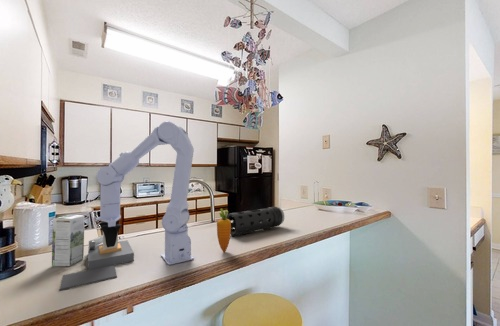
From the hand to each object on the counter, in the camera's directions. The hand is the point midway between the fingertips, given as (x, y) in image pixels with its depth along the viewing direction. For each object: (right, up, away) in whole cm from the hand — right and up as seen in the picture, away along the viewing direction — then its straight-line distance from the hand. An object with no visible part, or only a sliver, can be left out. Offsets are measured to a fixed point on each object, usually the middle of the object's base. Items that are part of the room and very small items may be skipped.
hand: (110, 244), depth 77 cm
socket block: (0, -4, 0) cm, 4 cm away
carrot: (+37, -4, +4) cm, 38 cm away
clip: (-6, -2, +6) cm, 9 cm away
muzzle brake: (+50, -5, +30) cm, 58 cm away
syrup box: (-10, -4, -5) cm, 12 cm away
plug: (0, -4, 0) cm, 4 cm away
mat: (+3, -4, -14) cm, 15 cm away
